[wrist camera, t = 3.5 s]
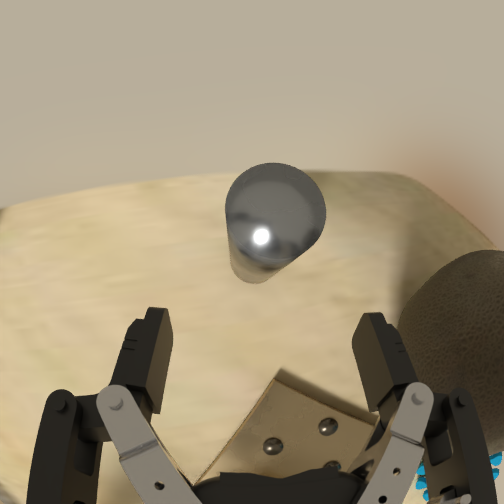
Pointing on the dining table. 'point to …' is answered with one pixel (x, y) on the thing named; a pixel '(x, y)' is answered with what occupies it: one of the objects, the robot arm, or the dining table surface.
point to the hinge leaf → (291, 437)
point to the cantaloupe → (462, 336)
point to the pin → (271, 219)
